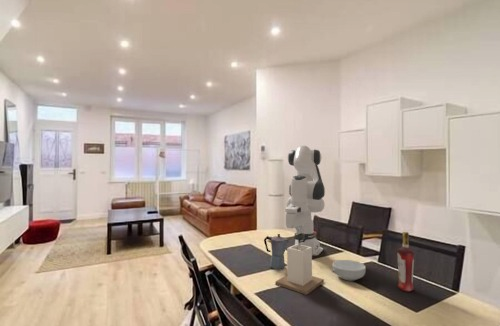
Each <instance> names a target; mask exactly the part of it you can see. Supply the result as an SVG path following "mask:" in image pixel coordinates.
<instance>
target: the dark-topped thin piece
mask: <svg viewBox="0 0 500 326" xmlns="http://www.w3.org/2000/svg"><path fill="white" fill-rule="evenodd" d="M295 239H296V240H298V250H301V240H304V233H302V234H299V235H298V234H297V232H296V233H294V240H295Z"/></svg>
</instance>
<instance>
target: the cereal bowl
mask: <svg viewBox="0 0 500 326" xmlns="http://www.w3.org/2000/svg"><path fill="white" fill-rule="evenodd" d="M332 270H333V272H334V274H335V275H336V276H338V277H339V278H341V279H343V280H345V281H350V282H351V281H353V282H354V281H356V280H359V279H361V278H364V276H365V275H366V272H367V271H366V270H367V269H366V265H365V264H364V263H361V262H359V261H355V260H351V259H350V260H349V259H341V260H340V259H339V260H335V261H333V262H332Z"/></svg>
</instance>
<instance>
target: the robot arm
mask: <svg viewBox="0 0 500 326" xmlns="http://www.w3.org/2000/svg"><path fill="white" fill-rule="evenodd" d="M287 154H288V155H287V162H288V164H289V165H290V166H293V167H294V169H295V171H297V172H296V175H294V176H292V177H291V181H290V185H289V186H288V187H289V191H288V193H289V196H288V198H287V200H286V202H285V203H286V204H285V205H286V207H285V211H284V212H286V213H285V226H286V228H288V229H295V231H296V233H297V234H298V235H299V234H302V233H304V240H301V245H304V246H308V247H312V256H319V255H320V254H321V252H323V251H324V248H323V247H321V245H320V241H319V240H318V239H317V238H316V235H317V231H314V229H315V228H314V227H315V226H314V221H313V219H312V213H321V212H322V211H323V210H324V209H325V200H324V199H323V198H324V197H325V194H326V187H325V185H324V182H323V179H322V175H321V172H320V168H319V165H320V164H321V161H322V154H321V152H320V150H319V149H311V148H310V147H308V146H307V145H300V146H298V147H297V148H296V149H294V150H290V151H289V152H288V153H287ZM294 240H295V241H294V245H295V244H298V240H296V239H295V238H294Z"/></svg>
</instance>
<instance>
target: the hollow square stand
mask: <svg viewBox="0 0 500 326" xmlns="http://www.w3.org/2000/svg"><path fill="white" fill-rule="evenodd" d="M286 249H287V250H286V256H287V257H286V260H287V261H286V265H287V267H286V272H287V273H286V275H284V276H282V277H281V278H279V279H278V280H275V283H274V284H275V285H276V286H280V287H282V288H285V289H289V290H292V291H293V292H294V291H295V292H298V293H300V294H303V295H309V294H310V293H311V292H313V291H314V290H315V289H316V288H318V287H319V286H320V285H322V284H323V283H324V280H325V279H323V278H320V277H316V276H313V255H312V247H308V246H304V245H301V250H298V244H295V243H294V245H291V246H289V247H287V248H286Z"/></svg>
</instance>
